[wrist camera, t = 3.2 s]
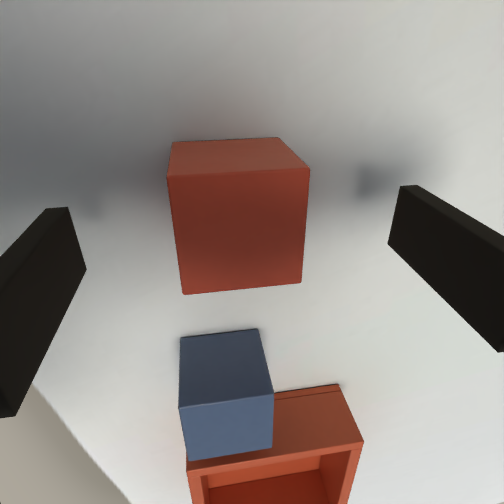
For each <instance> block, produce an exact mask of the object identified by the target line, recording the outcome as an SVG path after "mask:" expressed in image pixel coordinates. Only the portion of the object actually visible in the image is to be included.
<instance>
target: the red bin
mask: <svg viewBox="0 0 504 504" xmlns="http://www.w3.org/2000/svg"><path fill="white" fill-rule="evenodd" d="M363 444H364V440H363V438H362V436H361V434H360V431H359V429H358V427H357V425H356V422H355V420H354V418H353V416H352V413H351V411H350V409H349V407H348V405H347V402H346V400H345V398H344V396H343V393H342V391H341V389H340V387H339V385H338V384H336V385H329V386H322V387H315V388H308V389H302V390H295V391H288V392H281V393H274V416H273V442H272V448H268V449H262V450H256V451H250V452H243V453H237V454H231V455H225V456H219V457H213V458H207V459H201V460H195V461H188V457H187V452H186V472H187V477H188V483H189V488H190V493H191V498H192V503H193V504H347V502H348V499H349V495H350V491H351V487H352V484H353V480H354V476H355V473H356V469H357V465H358V462H359V458H360V454H361V451H362V447H363Z"/></svg>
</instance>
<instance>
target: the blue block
mask: <svg viewBox="0 0 504 504" xmlns="http://www.w3.org/2000/svg"><path fill="white" fill-rule="evenodd" d="M178 409H179V414H180V420H181V425H182V430H183V436H184V441H185V446H186V452H187V457H188V461H195V460H201V459H207V458H213V457H219V456H225V455H231V454H237V453H243V452H250V451H256V450H262V449H268V448H272V442H273V416H274V391H273V387H272V383H271V379H270V375H269V371H268V367H267V363H266V359H265V355H264V351H263V347H262V342H261V338H260V334H259V331H258V329H254V330H246V331H238V332H229V333H221V334H212V335H204V336H196V337H187V338H181V339H180V365H179V400H178Z"/></svg>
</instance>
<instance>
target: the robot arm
mask: <svg viewBox="0 0 504 504" xmlns="http://www.w3.org/2000/svg"><path fill="white" fill-rule="evenodd" d="M388 245H389V246H390V247H391V248H392V249H393V250H394V251H395V252H396V253H397V254H398V255H399V256H400V257H401V258H402V259H403V260H404V261H405V262H406V263H407V264H408V265H409V266H410V267H411V268H413V269H414V270H415V271H416V272H417V273H418V274H419V275H420V276H421V277H422V278H423V279H424V280H425V281H426V282H427V283H428V284H429V285H430V286H431V287H432V288H433V289H434V290H435V291H436V292H437V293H438V294H439V295H440V296H441V297H442V298H443V299H444V300H445V301H446V302H447V303H448V304H449V305H450V306H451V307H452V308H453V309H454V310H455V311H456V312H457V313H458V314H459V315H460V316H461V317H462V318H463V319H464V320H465V321H466V322H467V323H468V324H469V325H470V326H471V327H472V328H473V329H475V330H476V331H477V332H478V333H479V334H480V335H481V336H482V337H483V338H484V339H485V340H486V341H487V342H488V343H489V344H490V345H491V346H492V347H493V348H494V349H495V350H496V351H497V352H498V353H499V352H504V236H503V235H501V234H499V233H498V232H496V231H494V230H492V229H491V228H489V227H487V226H486V225H484V224H482V223H481V222H479V221H477V220H476V219H474V218H472V217H470V216H469V215H467V214H465V213H464V212H462V211H460V210H459V209H457V208H455V207H454V206H452V205H450V204H448V203H447V202H445V201H443V200H442V199H440V198H438V197H437V196H435V195H433V194H432V193H430V192H428V191H427V190H425V189H423V188H421V187H420V186H418V185H409V186H400V189H399V194H398V198H397V203H396V207H395V212H394V217H393V221H392V226H391V230H390V235H389V240H388ZM86 270H87V269H86V265H85V262H84V259H83V255H82V252H81V249H80V245H79V242H78V239H77V235H76V232H75V229H74V225H73V222H72V219H71V215H70V212H69V209H68V207H61V208H46V209H45V210H44V211H43V212H42V213H41V214H40V215H39V216H38V217H37V218H36V220H35V221H34V222H33V223H32V224H31V225H30V226H29V227H28V228H27V229H26V230H25V231H24V232H23V233H22V234H21V236H20V237H19V238H18V239H17V240H16V241H15V242H14V243H13V244H12V245H11V246H10V247H9V248H8V249H7V250H6V252H5V253H4V254H3V255H2V256H1V257H0V418H5V417H13V416H16V414H17V412H18V410H19V408H20V406H21V404H22V402H23V399H24V397H25V395H26V393H27V391H28V389H29V387H30V385H31V383H32V381H33V379H34V377H35V375H36V373H37V371H38V369H39V367H40V365H41V363H42V360H43V358H44V356H45V354H46V352H47V350H48V348H49V346H50V344H51V342H52V340H53V338H54V336H55V334H56V332H57V330H58V328H59V326H60V323H61V321H62V319H63V317H64V315H65V313H66V311H67V309H68V307H69V305H70V303H71V301H72V299H73V297H74V295H75V293H76V291H77V289H78V287H79V284H80V282H81V280H82V278H83V276H84V274H85V272H86ZM0 504H1V503H0Z"/></svg>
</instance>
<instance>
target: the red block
mask: <svg viewBox="0 0 504 504" xmlns="http://www.w3.org/2000/svg"><path fill="white" fill-rule="evenodd" d="M166 179H167V186H168V193H169V201H170V208H171V215H172V222H173V229H174V236H175V244H176V251H177V258H178V265H179V272H180V279H181V286H182V293H183V295H189V294H199V293H209V292H218V291H228V290H238V289H248V288H257V287H267V286H277V285H287V284H296V283H301V281H302V268H303V255H304V243H305V230H306V218H307V205H308V192H309V180H310V168H309V167H308V166H307V165H306V164H305V163H304V162H303V161H302V160H301V159H300V158H299V157H298V156H297V155H296V154H295V153H294V152H293V151H292V150H291V149H290V148H289V147H288V146H287V145H286V144H285V143H284V142H283V141H282V140H281V139H280V138H256V139H233V140H211V141H189V142H173V143H172V148H171V154H170V160H169V165H168V171H167V177H166Z"/></svg>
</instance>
